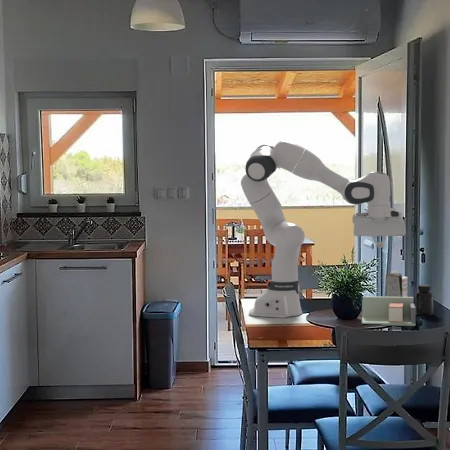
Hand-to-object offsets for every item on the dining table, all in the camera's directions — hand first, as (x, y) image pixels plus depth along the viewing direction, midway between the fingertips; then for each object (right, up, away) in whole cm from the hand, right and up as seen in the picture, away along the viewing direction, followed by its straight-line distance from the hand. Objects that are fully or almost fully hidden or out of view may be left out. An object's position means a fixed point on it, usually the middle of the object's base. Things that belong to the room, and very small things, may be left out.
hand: (379, 247), depth 270 cm
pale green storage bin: (+3, -29, -2) cm, 30 cm away
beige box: (+6, -28, -4) cm, 29 cm away
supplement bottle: (+21, -28, +10) cm, 36 cm away
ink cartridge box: (+17, -26, +35) cm, 47 cm away
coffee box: (+9, -28, +15) cm, 33 cm away
